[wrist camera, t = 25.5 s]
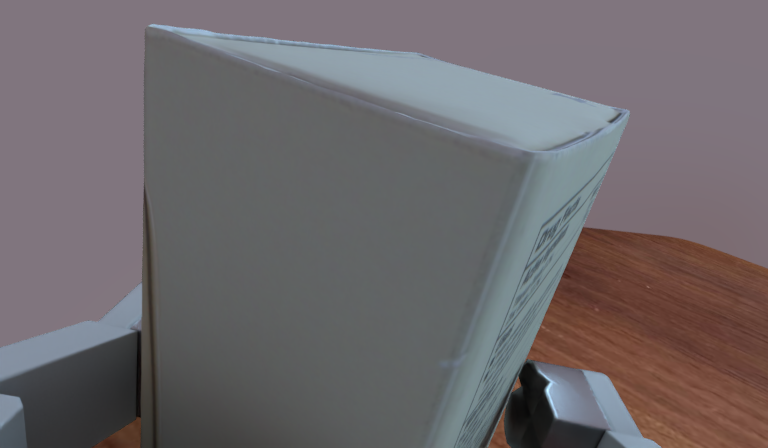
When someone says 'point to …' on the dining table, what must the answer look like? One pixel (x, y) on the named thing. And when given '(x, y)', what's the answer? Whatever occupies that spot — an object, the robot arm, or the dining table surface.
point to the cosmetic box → (348, 240)
